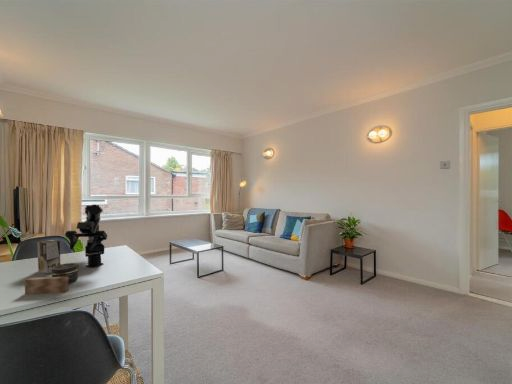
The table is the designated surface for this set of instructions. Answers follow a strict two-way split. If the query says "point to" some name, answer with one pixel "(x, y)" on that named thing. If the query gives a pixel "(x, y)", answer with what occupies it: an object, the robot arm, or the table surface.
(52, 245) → the coffee box
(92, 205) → the robot arm
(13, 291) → the table surface
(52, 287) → the walnut board
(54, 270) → the jar
